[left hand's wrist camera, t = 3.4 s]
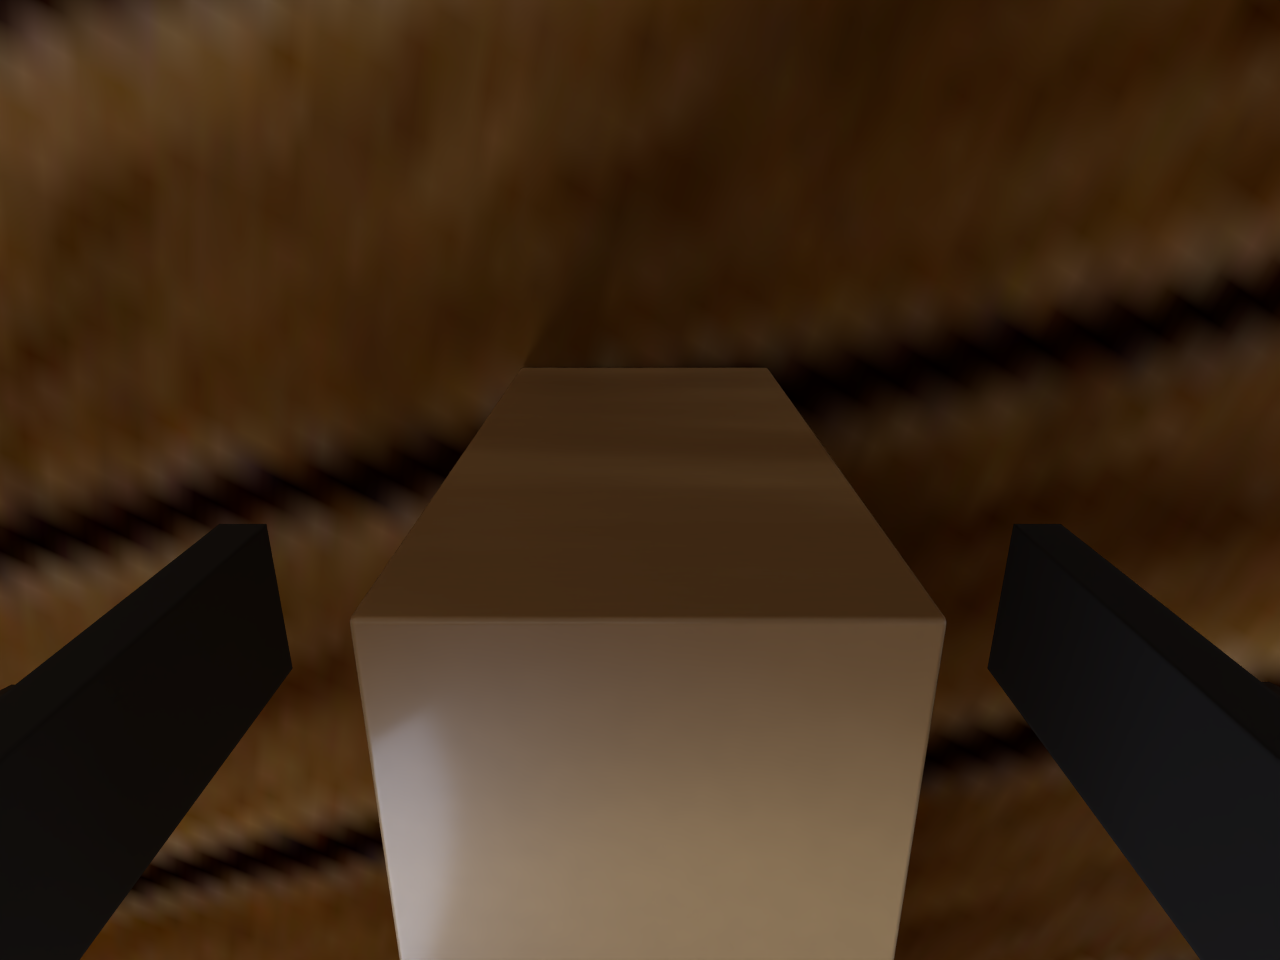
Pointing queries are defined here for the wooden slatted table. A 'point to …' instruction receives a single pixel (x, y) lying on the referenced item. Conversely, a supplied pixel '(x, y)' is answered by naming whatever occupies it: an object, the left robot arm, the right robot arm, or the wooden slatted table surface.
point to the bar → (647, 685)
